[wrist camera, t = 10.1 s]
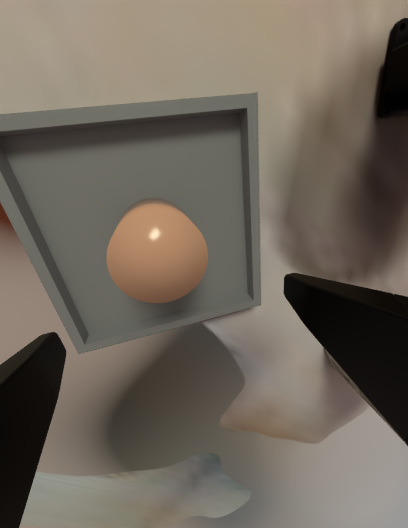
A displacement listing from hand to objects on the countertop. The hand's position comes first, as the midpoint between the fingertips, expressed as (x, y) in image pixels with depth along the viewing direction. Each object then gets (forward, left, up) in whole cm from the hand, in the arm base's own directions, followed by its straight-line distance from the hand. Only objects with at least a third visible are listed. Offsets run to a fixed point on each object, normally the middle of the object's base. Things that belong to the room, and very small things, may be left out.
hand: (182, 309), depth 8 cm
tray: (+1, 0, -12) cm, 12 cm away
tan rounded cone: (+1, 0, -11) cm, 11 cm away
